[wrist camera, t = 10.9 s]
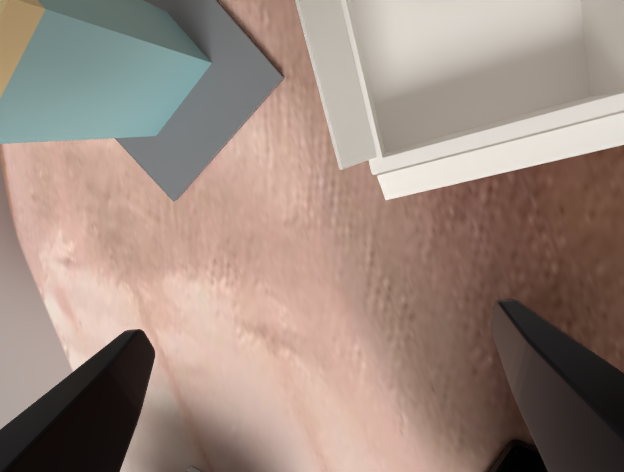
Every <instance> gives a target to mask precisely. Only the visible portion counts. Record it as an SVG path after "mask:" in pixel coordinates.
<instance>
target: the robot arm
mask: <svg viewBox="0 0 624 472" xmlns="http://www.w3.org/2000/svg"><path fill="white" fill-rule="evenodd" d="M491 331H492V335H493V338H494V341H495V344H496V347H497V350H498V353H499V356H500V359H501V362H502V365H503V368H504V371H505V374H506V377H507V380H508V383H509V386H510V388H511V391H512V394H513V396H514V399H515V401H516V403H517V405H518V408H519V410H520V412H521V414H522V416H523V418H524V420H525V423H526V425H527V427H528V429H529V431H530V433H531V436H532V438H533V440H534V442H535V444H536V446H537V447H535V446H532V445H530V444H527V443H525V442H523V441H519V440H513V441H511V442H510V443H509V444H508V445H507V447H506V448H505V450H504V451H503V453H502V454H501V455H500V457H499V458H498V460H497V461H496V463H495V464H494V466H493V467H492V468H491V470H490V471H489V472H624V373H623V372H621V371H620V370H618V369H617V368H615V367H614V366H612V365H611V364H610V363H608V362H607V361H605V360H604V359H602V358H601V357H599V356H598V355H596V354H595V353H593V352H592V351H590V350H589V349H587V348H586V347H585V346H583V345H582V344H580V343H579V342H577V341H576V340H574V339H573V338H571V337H570V336H568V335H567V334H565V333H564V332H562V331H561V330H560V329H558V328H557V327H555V326H554V325H552V324H551V323H549V322H548V321H546V320H545V319H543V318H542V317H540V316H539V315H537V314H536V313H535V312H533V311H532V310H530V309H529V308H527V307H526V306H524V305H523V304H521V303H520V302H518V301H517V300H514V299H506V300H498V301H496V302H495V304H494V309H493V315H492V320H491ZM154 359H155V350H154V348H153V346H152V344H151V343H150V341H149V339H148V337H147V336H146V334H145V332H144V331H142V330H140V329H136V330H127V331H124V332H123V333H122V334H120V335H119V336H118V337H117V338H115V339H114V340H113V341H112V342H110V343H109V344H108V345H107V346H105V347H104V348H103V349H102V350H100V351H99V352H98V353H96V354H95V355H94V356H93V357H91V358H90V359H89V360H88V361H86V362H85V363H84V364H83V365H81V366H80V367H79V368H78V369H76V370H75V371H74V372H72V373H71V374H70V375H69V376H67V377H66V378H65V379H64V380H62V381H61V382H60V383H59V384H57V385H56V386H55V387H54V388H52V389H51V390H50V391H49V392H47V393H46V394H45V395H43V396H42V397H41V398H40V399H38V400H37V401H36V402H35V403H33V404H32V405H31V406H30V407H28V408H27V409H26V410H24V411H23V412H22V413H21V414H19V415H18V416H17V417H16V418H14V419H13V420H12V421H11V422H9V423H8V424H7V425H5V426H4V427H3V428H2V429H1V430H0V472H120V469H121V466H122V464H123V461H124V458H125V455H126V453H127V450H128V447H129V444H130V442H131V439H132V436H133V433H134V430H135V428H136V425H137V422H138V419H139V416H140V413H141V409H142V406H143V402H144V398H145V394H146V391H147V387H148V383H149V379H150V375H151V371H152V367H153V363H154ZM516 449H520V450H516Z"/></svg>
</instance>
